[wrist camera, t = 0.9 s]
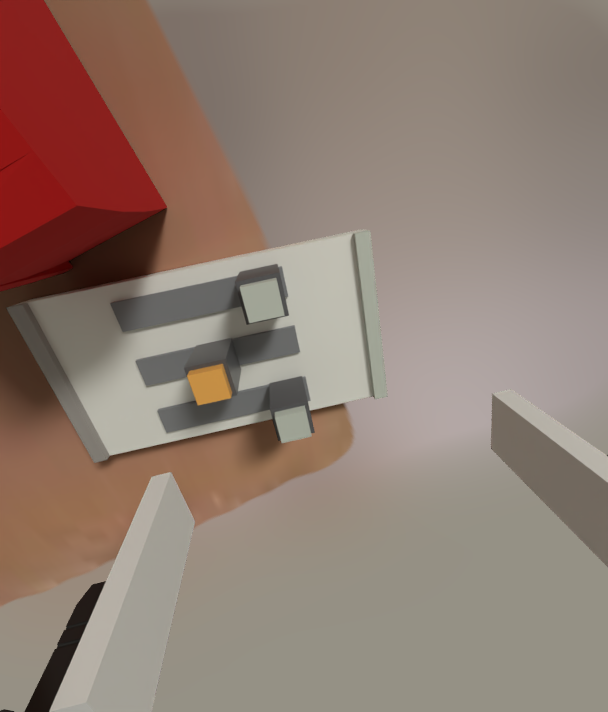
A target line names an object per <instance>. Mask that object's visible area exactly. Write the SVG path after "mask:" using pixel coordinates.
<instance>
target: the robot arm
mask: <svg viewBox="0 0 608 712" xmlns="http://www.w3.org/2000/svg"><path fill="white" fill-rule="evenodd" d="M491 431H492V432H491V449H492V450H493V451H494V452H495V453H496V454H497V455H498V456H499V457H500V458H501V459H502V460H503V461H504V462H505V463H506V464H507V465H508V466H509V467H510V468H511V469H512V470H513V471H514V472H515V473H516V474H517V475H518V476H519V477H520V478H521V479H522V480H523V482H524V483H525V484H526V485H527V486H528V487H529V488H530V489H531V490H532V491H533V492H534V493H535V494H536V495H537V496H538V497H539V498H540V499H541V500H542V501H543V502H544V503H545V504H546V505H547V506H548V507H549V508H550V509H551V510H552V511H553V512H554V513H555V514H556V515H557V516H558V517H559V518H560V519H561V520H562V521H563V522H564V523H565V524H566V525H567V526H568V527H569V528H570V529H571V530H572V531H573V532H574V533H575V534H576V535H577V536H578V537H579V538H580V539H581V540H582V541H583V542H584V543H585V544H586V545H587V546H588V547H589V548H590V549H591V550H592V552H593V553H595V555H596V556H597V557H599V559H600V560H601V561H602V562H603V563H604V564H605V565H606V566H607V567H608V455H605V454H604V453H602V452H601V451H599V450H598V449H597V448H595V447H594V446H592V445H591V444H589V443H588V442H586V441H585V440H584V439H582V438H581V437H579V436H578V435H576V434H575V433H573V432H572V431H570V430H569V429H568V428H566V427H565V426H563V425H562V424H560V423H559V422H557V421H556V420H555V419H553V418H552V417H550V416H549V415H547V414H546V413H544V412H543V411H542V410H540V409H539V408H537V407H536V406H534V405H533V404H532V403H530V402H529V401H527V400H526V399H524V398H523V397H521V396H520V395H519V394H517V393H516V392H514V391H513V390H511V389H510V390H506V391H502V392H498V393H494V394H492V429H491ZM194 524H195V521H194V519H193V516H192V514H191V512H190V510H189V508H188V506H187V504H186V502H185V500H184V498H183V496H182V494H181V492H180V490H179V487H178V485H177V483H176V481H175V479H174V477H173V475H172V473H171V472H170V473H166V474H161V475H157V476H153V477H151V480H150V482H149V484H148V486H147V489H146V491H145V493H144V496H143V498H142V500H141V503H140V505H139V507H138V509H137V512H136V514H135V516H134V519H133V521H132V523H131V525H130V528H129V530H128V532H127V535H126V537H125V539H124V541H123V544H122V546H121V548H120V551H119V553H118V555H117V557H116V560H115V562H114V565H113V567H112V569H111V571H110V574H109V576H108V578H107V580H106V581H105V582H101V583H97V584H93V585H92V586H91V587H90V588H89V590H88V591H87V592H86V593H85V595H84V596H83V597H82V599H81V600H80V601H79V602H78V604H77V605H76V607H75V609H74V611H73V613H72V615H71V617H70V620H69V621H68V623H67V626H66V627H67V628H66V630H64V632H63V634H62V636H61V638H60V640H59V642H58V644H57V645H58V647H57V649H55V650H54V652H53V654H52V656H51V659H50V660H49V663H48V665H47V667H46V669H45V671H44V673H43V675H42V677H41V679H40V681H39V683H38V685H37V687H36V689H35V691H34V693H33V696H32V698H31V700H30V702H29V704H28V706H27V708H26V710H25V712H152V707H153V703H154V699H155V694H156V690H157V686H158V681H159V677H160V672H161V668H162V664H163V659H164V655H165V651H166V646H167V641H168V638H169V633H170V629H171V625H172V620H173V616H174V611H175V607H176V603H177V598H178V594H179V590H180V585H181V581H182V577H183V572H184V567H185V563H186V559H187V555H188V550H189V546H190V542H191V537H192V533H193V529H194ZM0 712H14V711H10V710H1V711H0Z"/></svg>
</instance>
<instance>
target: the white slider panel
mask: <svg viewBox="0 0 608 712" xmlns="http://www.w3.org/2000/svg"><path fill="white" fill-rule="evenodd" d="M6 309H7V310H8V312H9V314H10V316H11V317H12V319H13V321H14V323H15V324H16V326H17V328H18V330H19V331H20V333H21V335H22V337H23V338H24V340H25V342H26V344H27V345H28V347H29V349H30V351H31V352H32V354H33V356H34V358H35V360H36V361H37V363H38V365H39V367H40V368H41V370H42V372H43V374H44V375H45V377H46V379H47V381H48V382H49V384H50V386H51V388H52V389H53V391H54V393H55V395H56V396H57V398H58V400H59V402H60V403H61V405H62V407H63V409H64V410H65V412H66V414H67V416H68V417H69V419H70V421H71V423H72V425H73V426H74V428H75V430H76V432H77V433H78V435H79V437H80V439H81V440H82V442H83V444H84V446H85V447H86V449H87V451H88V453H89V454H90V456H91V458H92V460H93V461H94V463H95V462H100V461H104V460H107V459H108V458H109V456H110V455H115V454H119V453H124V452H128V451H132V450H137V449H141V448H146V447H150V446H155V445H159V444H164V443H168V442H172V441H177V440H181V439H186V438H190V437H195V436H199V435H204V434H208V433H212V432H217V431H221V430H226V429H230V428H235V427H239V426H243V425H248V424H252V423H257V422H261V421H266V420H270V419H273V423H274V426H275V430H276V434H277V437H278V441H280V440H281V442H282V443H285V442H289V441H294V440H298V439H302V438H307V437H311V433H315V432H314V427H313V423H312V418H311V414H310V410H315V409H319V408H323V407H328V406H332V405H337V404H341V403H346V402H350V401H355V400H359V399H363V398H368V397H372V396H373V397H374V398H375V399H379V398H384V397H387V387H386V378H385V368H384V359H383V349H382V339H381V329H380V320H379V310H378V301H377V291H376V282H375V272H374V263H373V253H372V244H371V234H370V231H369V230H356V231H352V232H347V233H342V234H338V235H334V236H328V237H323V238H319V239H314V240H309V241H305V242H300V243H295V244H290V245H286V246H281V247H277V248H272V249H267V250H262V251H257V252H253V253H248V254H243V255H238V256H234V257H229V258H224V259H220V260H215V261H210V262H205V263H201V264H196V265H191V266H187V267H182V268H177V269H172V270H168V271H163V272H158V273H154V274H149V275H144V276H139V277H135V278H130V279H125V280H121V281H116V282H111V283H106V284H102V285H97V286H92V287H88V288H83V289H78V290H73V291H69V292H64V293H59V294H55V295H50V296H45V297H40V298H36V299H31V300H27V301H24V302H21V303H19V304H16V305H13V306H10V307H7V308H6ZM228 338H232V340H233V344H234V347H235V350H236V354H237V357H238V360H239V364H240V367H241V375H240V381H239V387H238V394H237V395H236V396H232V397H231V398H230V399H225V400H221V401H216V402H212V403H207V404H203V405H198V404H197V402H196V400H195V397H194V394H193V392H192V389H191V386H190V384H189V381H188V378H187V376H186V373H185V370H184V367H185V365H186V363H187V361H188V359H189V358H190V356H191V354H192V352H193V350H194V348H195V347H196V345H201V344H205V343H210V342H215V341H219V340H224V339H228Z"/></svg>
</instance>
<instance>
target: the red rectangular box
mask: <svg viewBox="0 0 608 712" xmlns="http://www.w3.org/2000/svg"><path fill="white" fill-rule="evenodd" d="M165 208H167V206H166V204H165V203H164V201H163V199H162V198H161V196H160V194H159V193H158V191H157V189H156V188H155V186H154V184H153V183H152V181H151V179H150V178H149V176H148V174H147V173H146V171H145V169H144V168H143V166H142V164H141V163H140V161H139V159H138V158H137V156H136V154H135V152H134V151H133V149H132V147H131V146H130V144H129V142H128V141H127V139H126V137H125V136H124V134H123V132H122V131H121V129H120V127H119V126H118V124H117V122H116V121H115V119H114V117H113V116H112V114H111V112H110V111H109V109H108V107H107V106H106V104H105V102H104V101H103V99H102V97H101V95H100V94H99V92H98V90H97V89H96V87H95V85H94V84H93V82H92V80H91V79H90V77H89V75H88V74H87V72H86V70H85V69H84V67H83V65H82V64H81V62H80V60H79V59H78V57H77V55H76V54H75V52H74V50H73V49H72V47H71V45H70V44H69V42H68V40H67V39H66V37H65V35H64V33H63V32H62V30H61V28H60V27H59V25H58V23H57V22H56V20H55V18H54V17H53V15H52V13H51V12H50V10H49V8H48V7H47V5H46V3H45V2H44V0H0V291H4V290H8V289H11V288H15V287H18V286H22V285H26V284H29V283H33V282H36V281H39V280H42V279H45V278H49V277H52V276H55V275H59V274H62V273H65V272H66V271H68V270H70V269H72V268H73V267H72V265H71V264H70V263H69V261H70V260H72V259H73V258H75V257H77V256H79V255H81V254H83V253H84V252H86V251H88V250H90V249H92V248H94V247H95V246H97V245H99V244H101V243H103V242H105V241H106V240H108V239H110V238H112V237H114V236H116V235H117V234H119V233H121V232H123V231H125V230H127V229H128V228H130V227H132V226H134V225H136V224H138V223H140V222H141V221H143V220H145V219H147V218H149V217H151V216H152V215H154V214H156V213H158V212H160V211H162V210H163V209H165Z"/></svg>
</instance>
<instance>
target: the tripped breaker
mask: <svg viewBox="0 0 608 712" xmlns="http://www.w3.org/2000/svg"><path fill="white" fill-rule="evenodd" d="M184 370H185V373H186V376H187V378H188V381H189V384H190V386H191V389H192V392H193V394H194V397H195V400H196V402H197V404H198V405H203V404H207V403H212V402H216V401H221V400H225V399H230V398H231V397H232V396H236V395H237V394H238V387H239V381H240V375H241V367H240V364H239V360H238V357H237V354H236V350H235V347H234V344H233V340H232V338H228V339H224V340H219V341H215V342H210V343H205V344H201V345H196V347H195V348H194V350H193V352H192V354H191V356H190V358H189V359H188V361H187V363H186V365H185V367H184Z"/></svg>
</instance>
